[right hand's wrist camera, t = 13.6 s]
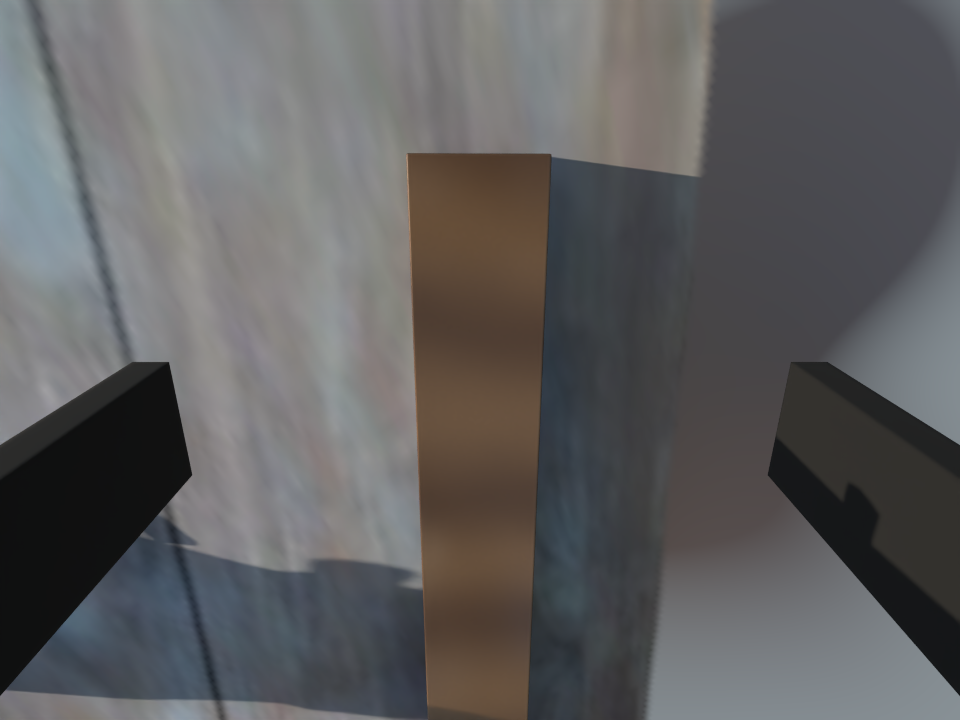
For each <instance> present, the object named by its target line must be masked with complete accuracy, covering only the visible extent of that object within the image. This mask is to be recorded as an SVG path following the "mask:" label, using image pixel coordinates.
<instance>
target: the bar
mask: <svg viewBox="0 0 960 720" xmlns="http://www.w3.org/2000/svg"><path fill="white" fill-rule="evenodd" d="M406 161H407V187H408V213H409V239H410V265H411V291H412V317H413V343H414V370H415V396H416V422H417V448H418V474H419V500H420V526H421V552H422V578H423V604H424V631H425V657H426V683H427V709H428V720H528V697H529V674H530V650H531V627H532V603H533V580H534V556H535V533H536V509H537V486H538V462H539V439H540V415H541V392H542V368H543V345H544V321H545V297H546V274H547V250H548V227H549V203H550V180H551V154H449V153H408V154H407V155H406Z"/></svg>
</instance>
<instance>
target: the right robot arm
mask: <svg viewBox="0 0 960 720" xmlns="http://www.w3.org/2000/svg"><path fill="white" fill-rule="evenodd" d="M191 476H192V472H191V467H190V462H189V457H188V452H187V447H186V442H185V438H184V433H183V428H182V423H181V418H180V413H179V409H178V404H177V399H176V394H175V389H174V384H173V380H172V375H171V370H170V365H169V362H132V363H130V364H129V365H127V366H126V367H124V368H122V369H121V370H119V371H118V372H116V373H114V374H113V375H111V376H110V377H108V378H106V379H105V380H103V381H102V382H100V383H99V384H97V385H95V386H94V387H92V388H91V389H89V390H87V391H86V392H84V393H83V394H81V395H79V396H78V397H76V398H75V399H73V400H71V401H70V402H68V403H67V404H65V405H63V406H62V407H60V408H59V409H57V410H55V411H54V412H52V413H51V414H49V415H48V416H46V417H44V418H43V419H41V420H40V421H38V422H36V423H35V424H33V425H32V426H30V427H28V428H27V429H25V430H24V431H22V432H20V433H19V434H17V435H16V436H14V437H12V438H11V439H9V440H8V441H6V442H4V443H3V444H1V445H0V695H1V694H2V693H3V692H4V691H5V690H6V689H7V687H8V686H9V685H10V684H11V683H12V682H13V681H14V679H15V678H16V677H17V676H18V675H19V674H20V672H21V671H22V670H23V669H24V668H25V667H26V666H27V664H28V663H29V662H30V661H31V660H32V659H33V658H34V656H35V655H36V654H37V653H38V652H39V651H40V649H41V648H42V647H43V646H44V645H45V644H46V643H47V641H48V640H49V639H50V638H51V637H52V636H53V635H54V633H55V632H56V631H57V630H58V629H59V628H60V626H61V625H62V624H63V623H64V622H65V621H66V620H67V618H68V617H69V616H70V615H71V614H72V613H73V612H74V610H75V609H76V608H77V607H78V606H79V605H80V603H81V602H82V601H83V600H84V599H85V598H86V597H87V595H88V594H89V593H90V592H91V591H92V590H93V589H94V587H95V586H96V585H97V584H98V583H99V582H100V580H101V579H102V578H103V577H104V576H105V575H106V574H107V572H108V571H109V570H110V569H111V568H112V567H113V566H114V564H115V563H116V562H117V561H118V560H119V559H120V558H121V556H122V555H123V554H124V553H125V552H126V551H127V549H128V548H129V547H130V546H131V545H132V544H133V543H134V541H135V540H136V539H137V538H138V537H139V536H140V535H141V533H142V532H143V531H144V530H145V529H146V528H147V526H148V525H149V524H150V523H151V522H152V521H153V520H154V518H155V517H156V516H157V515H158V514H159V513H160V512H161V510H162V509H163V508H164V507H165V506H166V505H167V503H168V502H169V501H170V500H171V499H172V498H173V497H174V495H175V494H176V493H177V492H178V491H179V490H180V489H181V487H182V486H183V485H184V484H185V483H186V482H187V480H188V479H189V478H190V477H191ZM768 476H769V477H770V478H771V479H772V480H773V482H774V483H775V484H776V485H777V486H778V487H779V488H780V490H781V491H782V492H783V493H784V494H785V495H786V497H787V498H788V499H789V500H790V501H791V502H792V503H793V505H794V506H795V507H796V508H797V509H798V510H799V512H800V513H801V514H802V515H803V516H804V517H805V518H806V520H807V521H808V522H809V523H810V524H811V525H812V526H813V528H814V529H815V530H816V531H817V532H818V533H819V534H820V536H821V537H822V538H823V539H824V540H825V541H826V543H827V544H828V545H829V546H830V547H831V548H832V549H833V551H834V552H835V553H836V554H837V555H838V556H839V558H840V559H841V560H842V561H843V562H844V563H845V564H846V566H847V567H848V568H849V569H850V570H851V571H852V572H853V574H854V575H855V576H856V577H857V578H858V579H859V580H860V582H861V583H862V584H863V585H864V586H865V587H866V588H867V590H868V591H869V592H870V593H871V594H872V595H873V597H874V598H875V599H876V600H877V601H878V602H879V603H880V605H881V606H882V607H883V608H884V609H885V610H886V612H887V613H888V614H889V615H890V616H891V617H892V618H893V620H894V621H895V622H896V623H897V624H898V625H899V626H900V628H901V629H902V630H903V631H904V632H905V633H906V634H907V636H908V637H909V638H910V639H911V640H912V641H913V643H914V644H915V645H916V646H917V647H918V648H919V649H920V651H921V652H922V653H923V654H924V655H925V656H926V658H927V659H928V660H929V661H930V662H931V663H932V664H933V666H934V667H935V668H936V669H937V670H938V671H939V672H940V674H941V675H942V676H943V677H944V678H945V679H946V681H947V682H948V683H949V684H950V685H951V686H952V687H953V689H954V690H955V691H956V692H957V693H958V694H959V695H960V445H959V444H957V443H956V442H954V441H952V440H951V439H949V438H948V437H946V436H944V435H943V434H941V433H940V432H938V431H936V430H935V429H933V428H932V427H930V426H928V425H927V424H925V423H924V422H922V421H920V420H919V419H917V418H916V417H914V416H912V415H911V414H909V413H908V412H906V411H904V410H903V409H901V408H900V407H898V406H897V405H895V404H893V403H892V402H890V401H889V400H887V399H885V398H884V397H882V396H881V395H879V394H877V393H876V392H874V391H873V390H871V389H869V388H868V387H866V386H865V385H863V384H861V383H860V382H858V381H857V380H855V379H854V378H852V377H850V376H849V375H847V374H846V373H844V372H842V371H841V370H839V369H838V368H836V367H834V366H833V365H831V364H830V363H828V362H791V365H790V370H789V375H788V380H787V384H786V389H785V394H784V399H783V404H782V409H781V413H780V418H779V423H778V428H777V433H776V438H775V443H774V447H773V452H772V457H771V462H770V467H769V472H768Z"/></svg>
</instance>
